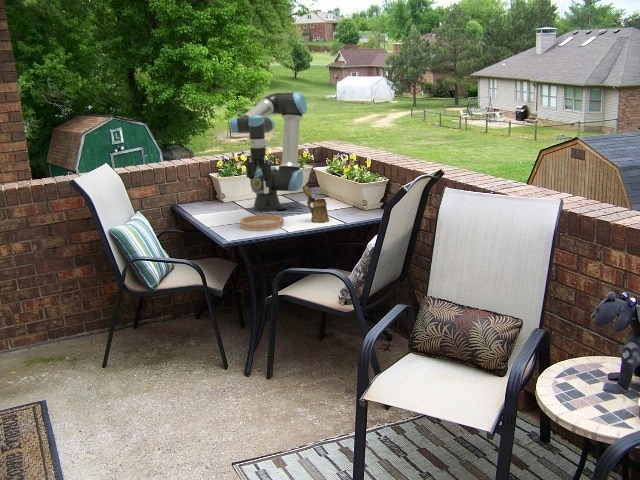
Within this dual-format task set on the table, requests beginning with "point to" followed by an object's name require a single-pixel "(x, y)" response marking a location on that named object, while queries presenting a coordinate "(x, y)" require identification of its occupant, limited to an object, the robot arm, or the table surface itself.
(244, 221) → the round dish
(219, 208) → the table surface
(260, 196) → the robot arm
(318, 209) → the wooden mug
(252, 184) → the pocket watch
